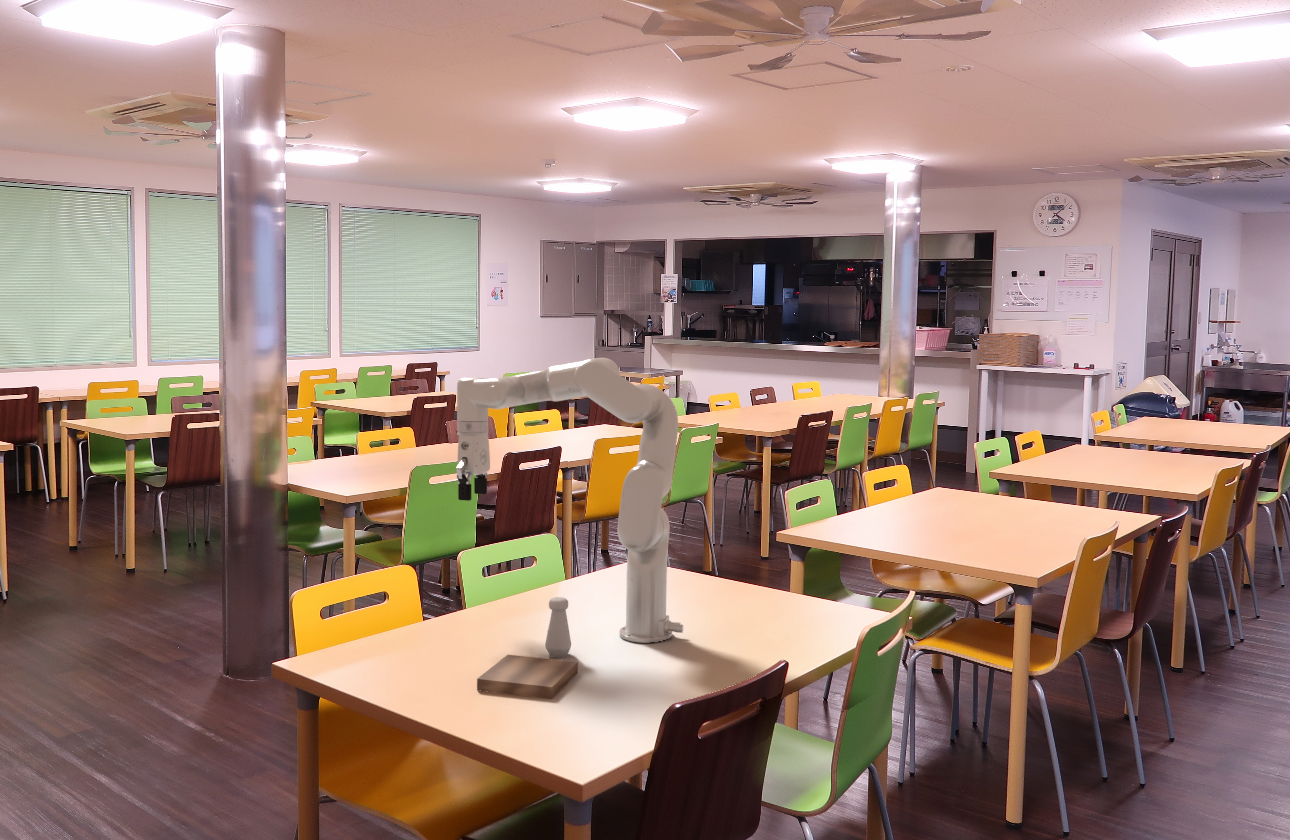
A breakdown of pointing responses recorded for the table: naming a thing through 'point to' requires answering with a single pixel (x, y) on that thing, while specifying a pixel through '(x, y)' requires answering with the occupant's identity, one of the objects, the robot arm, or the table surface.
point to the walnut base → (528, 676)
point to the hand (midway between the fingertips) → (472, 496)
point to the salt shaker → (558, 629)
